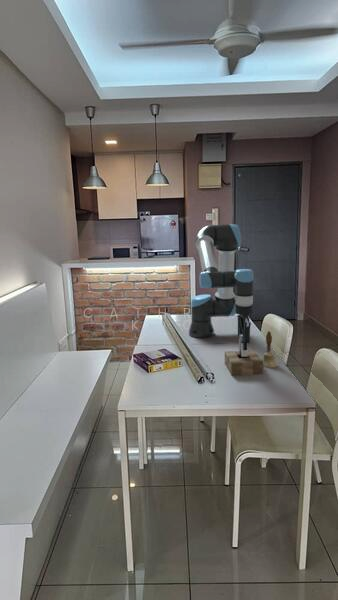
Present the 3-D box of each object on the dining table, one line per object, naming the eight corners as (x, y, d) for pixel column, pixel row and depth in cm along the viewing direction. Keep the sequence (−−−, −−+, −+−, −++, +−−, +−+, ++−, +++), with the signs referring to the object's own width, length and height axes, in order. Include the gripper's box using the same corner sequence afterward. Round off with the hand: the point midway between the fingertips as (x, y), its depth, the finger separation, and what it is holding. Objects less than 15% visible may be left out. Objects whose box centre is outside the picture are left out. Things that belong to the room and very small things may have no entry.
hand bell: (265, 369, 167) (266, 335, 163) (256, 362, 174) (257, 330, 171) (281, 366, 169) (282, 333, 165) (271, 360, 177) (272, 328, 173)
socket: (224, 363, 174) (224, 351, 173) (253, 361, 175) (253, 350, 174) (231, 375, 161) (231, 363, 159) (262, 374, 161) (263, 361, 160)
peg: (238, 358, 169) (238, 333, 166) (245, 358, 169) (246, 333, 166) (240, 361, 165) (240, 336, 162) (248, 361, 165) (248, 335, 163)
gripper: (231, 300, 169) (230, 348, 174) (240, 309, 153) (239, 361, 158) (247, 299, 169) (246, 347, 175) (258, 308, 153) (256, 361, 159)
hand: (243, 354), depth 166 cm, fingers closed on peg, 3 cm apart
